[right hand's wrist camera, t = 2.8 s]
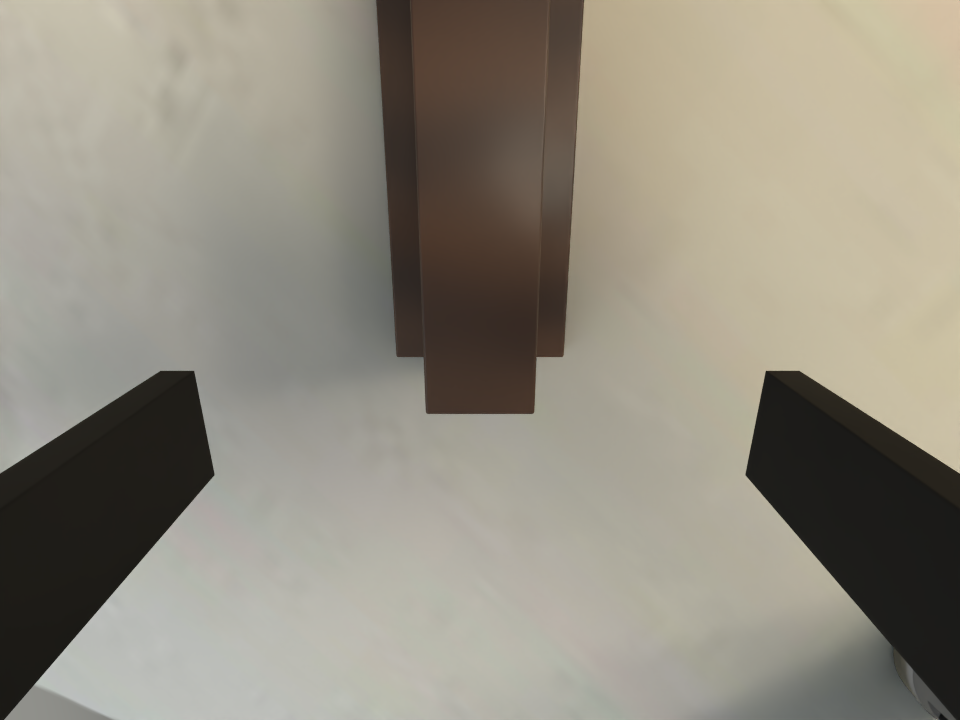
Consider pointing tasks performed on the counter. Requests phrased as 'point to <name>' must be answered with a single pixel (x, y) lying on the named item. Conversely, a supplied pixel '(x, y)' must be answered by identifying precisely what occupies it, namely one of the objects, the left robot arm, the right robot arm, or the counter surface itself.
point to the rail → (480, 190)
